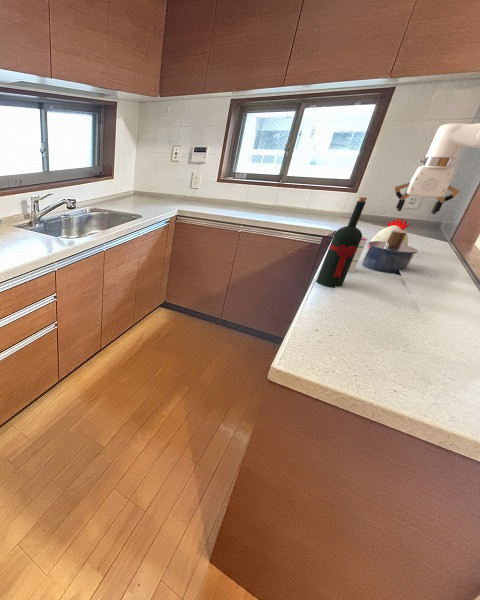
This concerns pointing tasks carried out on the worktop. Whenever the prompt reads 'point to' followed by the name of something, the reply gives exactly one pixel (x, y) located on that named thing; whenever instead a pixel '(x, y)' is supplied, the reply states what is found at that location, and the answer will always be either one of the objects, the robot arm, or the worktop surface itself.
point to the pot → (386, 260)
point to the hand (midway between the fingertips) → (415, 212)
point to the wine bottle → (342, 250)
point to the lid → (394, 243)
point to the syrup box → (358, 254)
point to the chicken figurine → (386, 232)
